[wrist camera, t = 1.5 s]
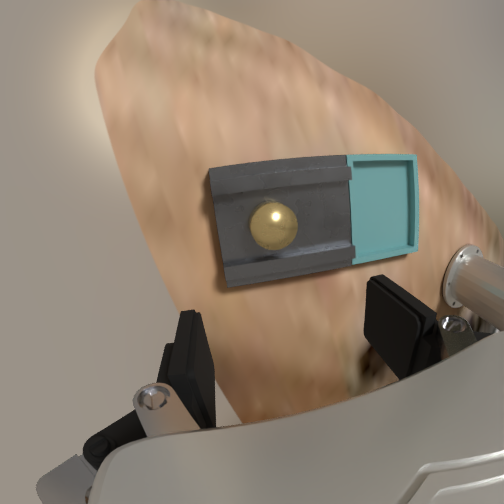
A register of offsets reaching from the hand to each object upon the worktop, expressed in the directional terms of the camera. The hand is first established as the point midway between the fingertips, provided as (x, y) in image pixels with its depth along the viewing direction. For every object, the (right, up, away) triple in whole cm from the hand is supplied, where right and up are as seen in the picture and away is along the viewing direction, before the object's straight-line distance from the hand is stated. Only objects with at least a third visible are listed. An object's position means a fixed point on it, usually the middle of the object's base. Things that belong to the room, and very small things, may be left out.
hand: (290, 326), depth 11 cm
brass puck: (0, +6, +20) cm, 21 cm away
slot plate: (+2, +7, +22) cm, 23 cm away
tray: (+16, +9, +23) cm, 30 cm away
